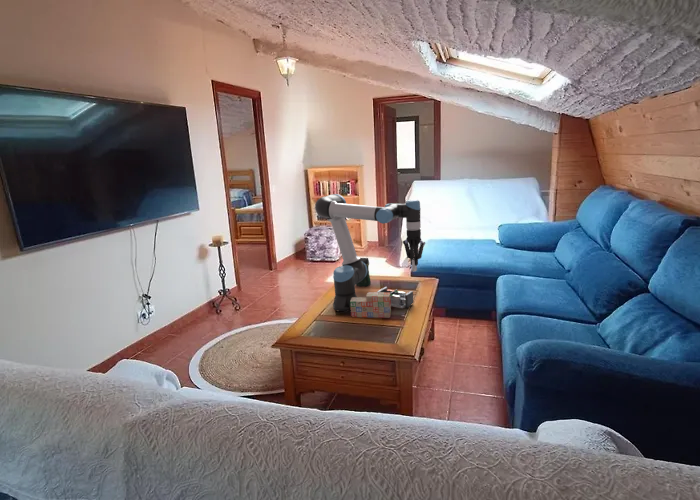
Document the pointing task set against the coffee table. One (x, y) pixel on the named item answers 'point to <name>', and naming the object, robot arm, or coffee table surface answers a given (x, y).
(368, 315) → the stack of blocks
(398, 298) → the gauge body
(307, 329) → the coffee table surface
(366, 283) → the coffee jar
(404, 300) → the plunger
